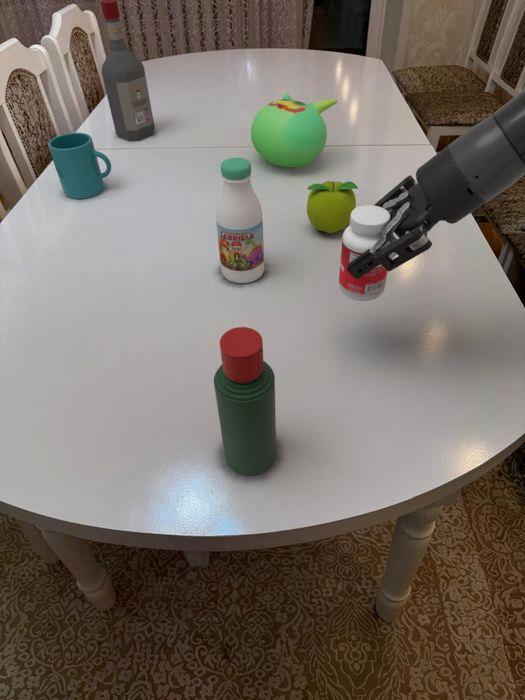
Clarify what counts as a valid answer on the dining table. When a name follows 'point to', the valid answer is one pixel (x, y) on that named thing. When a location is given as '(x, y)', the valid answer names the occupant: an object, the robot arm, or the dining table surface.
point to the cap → (242, 354)
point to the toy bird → (290, 131)
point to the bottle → (247, 421)
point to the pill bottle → (357, 241)
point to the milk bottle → (239, 224)
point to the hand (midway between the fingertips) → (351, 257)
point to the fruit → (331, 205)
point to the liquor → (125, 82)
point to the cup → (78, 165)
